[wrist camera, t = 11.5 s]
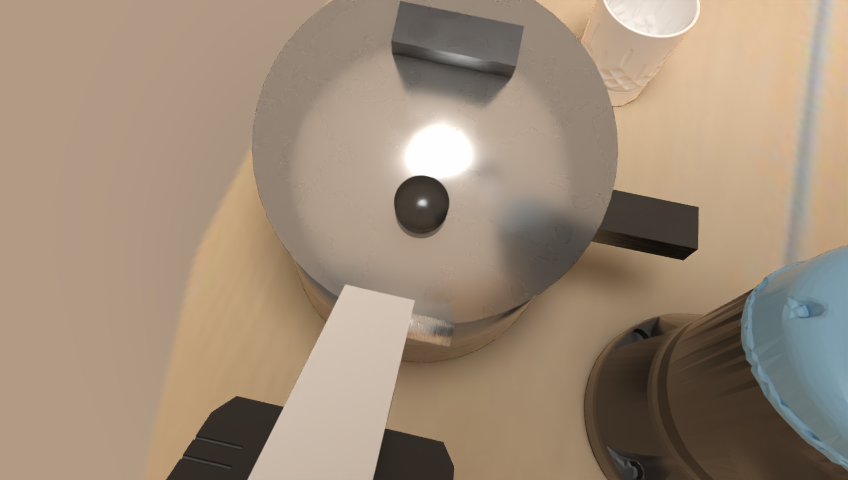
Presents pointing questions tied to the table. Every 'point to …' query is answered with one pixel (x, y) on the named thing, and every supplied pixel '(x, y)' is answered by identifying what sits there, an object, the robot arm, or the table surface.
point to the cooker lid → (435, 153)
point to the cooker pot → (621, 226)
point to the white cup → (635, 41)
